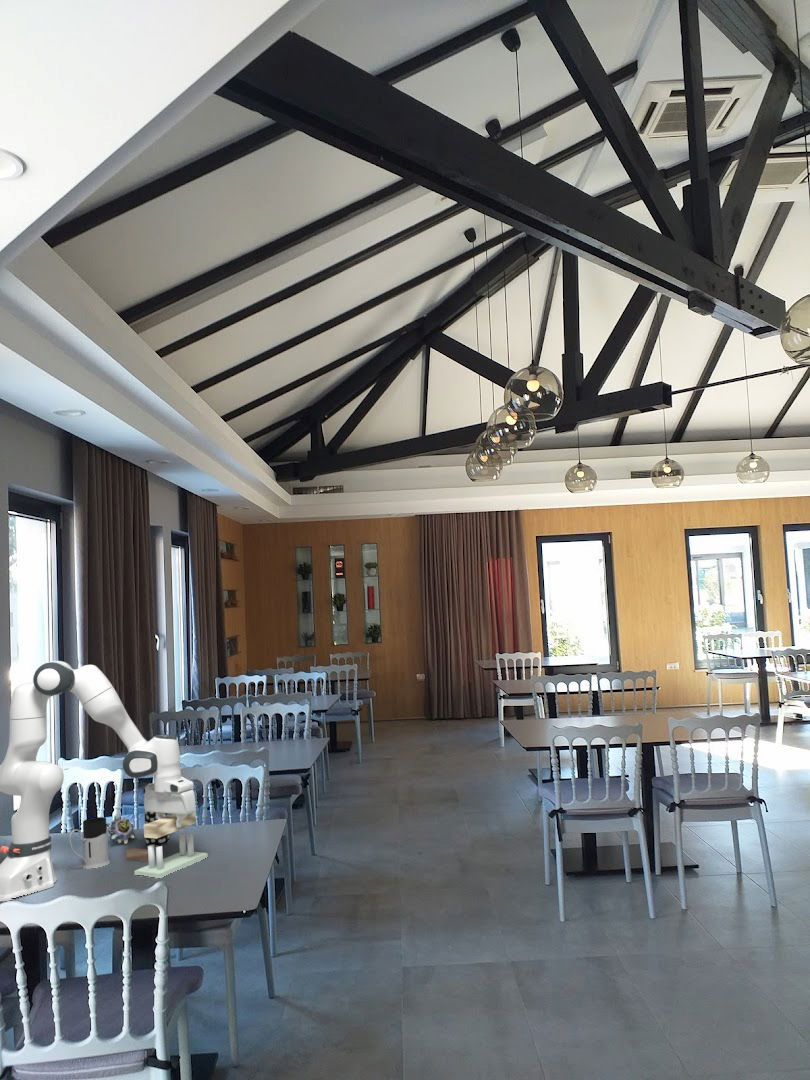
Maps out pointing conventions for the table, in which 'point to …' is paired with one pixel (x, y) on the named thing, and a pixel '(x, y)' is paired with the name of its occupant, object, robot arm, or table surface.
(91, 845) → the electric kettle
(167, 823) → the plank
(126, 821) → the passion flower
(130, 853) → the riser
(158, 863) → the peg stand
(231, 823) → the table surface
